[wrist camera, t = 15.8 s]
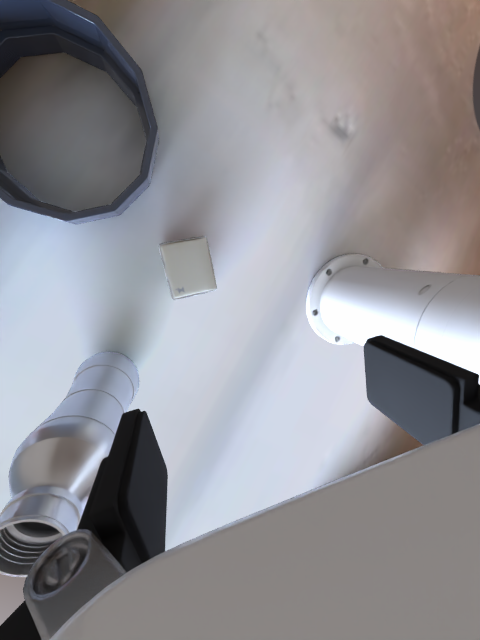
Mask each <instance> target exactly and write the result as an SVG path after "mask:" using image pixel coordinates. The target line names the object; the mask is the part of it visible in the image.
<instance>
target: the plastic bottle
mask: <svg viewBox="0 0 480 640" xmlns="http://www.w3.org/2000/svg"><path fill="white" fill-rule="evenodd" d="M138 388H139V374H138V370H137V367H136V366H135V364H134V363H133V362H132V361H131V360H130V359H129V358H128V357H126V356H125V355H123V354H120V353H117V352H101V353H98V354H95V355H93V356H92V357H90V358H89V359H87V360H86V361H84V362H83V363H82V364H81V365H80V367H79V368H78V370H77V372H76V374H75V377H74V379H73V383H72V386H71V388H70V390H69V392H68V394H67V396H66V398H65V399H64V400H63V401H62V403H61V404H60V405H59V406H58V407H57V409H56V410H55V411H54V412H53V413H52V414H51V415H50V416H49V417H48V418H47V419H46V420H45V421H43V422H42V423H41V424H40V425H39V426H38V427H37V428H36V429H35V430H34V431H33V432H32V433H30V435H29V436H28V437H27V438H26V439H25V440H24V441H23V442H22V444H21V445H20V446H19V447H18V449H17V450H16V453H15V455H14V457H13V460H12V463H11V467H10V471H9V486H10V494H11V498H12V499H10V501H9V502H8V503H7V504H6V506H5V507H4V509H3V510H2V512H1V514H0V573H1V574H4V575H7V576H13V577H27V575H28V573H29V572H30V570H31V568H32V566H33V565H34V563H35V562H36V561H37V559H38V558H39V557H40V555H41V554H42V553H43V552H44V551H45V550H46V549H47V548H48V547H49V546H50V545H51V544H53V543H54V542H55V541H57V540H58V539H59V538H60V537H62V536H64V535H66V534H68V533H70V532H72V531H75V530H77V528H78V525H79V523H80V520H81V517H82V514H83V511H84V508H85V506H86V503H87V500H88V497H89V494H90V492H91V489H92V486H93V483H94V480H95V478H96V475H97V472H98V469H99V466H100V464H101V461H102V460H103V459H104V458H105V457H108V455H109V452H110V449H111V446H112V443H113V440H114V437H115V434H116V431H117V428H118V425H119V422H120V419H121V416H122V414H123V413H126V412H127V410H128V407H129V405H130V404H131V402H132V401H133V399H134V397H135V395H136V393H137V391H138Z"/></svg>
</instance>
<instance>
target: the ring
mask: <svg viewBox="0 0 480 640" xmlns="http://www.w3.org/2000/svg"><path fill="white" fill-rule="evenodd" d="M1 30H2V31H1ZM63 52H64V53H67V54H69V55H71V56H73V57H75V58H78V59H80V60H82V61H84V62H86V63H88V64H91V65H93V66H95V67H97V68H99V69H101V70H104V71H106V72H107V73H108V74H109V75H110V76H111V78H112V79H113V80H114V81H115V82H116V84H117V85H118V86H119V87H120V88H121V89H122V91H123V92H124V93H125V94H126V95H127V96H128V98H129V99H130V100H131V101H132V102H133V103H134V105H135V106H136V107H137V110H138V113H139V117H140V120H141V123H142V127H143V130H144V134H145V137H146V140H147V141H146V146H145V151H144V156H143V161H142V166H141V171H140V175H139V176H138V177H137V178H136V179H135V180H134V181H133V182H132V183H131V184H130V185H129V186H128V187H127V188H126V189H125V190H124V191H123V192H122V193H121V194H120V195H119V197H118V198H117V199H116V200H115V201H114V202H113V203H112V204H111V205H106V206H101V207H96V208H91V209H86V210H82V211H77V212H74V211H70V210H67V209H64V208H60V207H57V206H54V205H50V204H47V203H44V202H41V201H40V200H39V199H38V198H36V197H35V196H34V195H33V194H32V193H31V192H30V191H28V190H27V189H26V188H25V187H24V186H23V185H22V184H20V183H19V182H18V181H17V180H16V179H15V178H14V177H12V176H11V175H10V174H9V173H8V172H7V170H6V168H5V165H4V163H3V161H2V159H1V156H0V198H1V199H2V200H3V201H4V202H6V203H7V204H8V205H10V206H14V207H17V208H21V209H24V210H28V211H31V212H34V213H38V214H41V215H45V216H48V217H52V218H55V219H59V220H62V221H65V222H69V223H73V224H82V223H86V222H91V221H96V220H100V219H105V218H110V217H114V216H119V215H121V214H122V213H123V212H124V211H125V210H126V209H127V208H128V207H129V206H130V205H131V204H132V203H133V202H134V201H135V200H136V199H137V198H138V197H139V196H140V195H141V194H142V193H143V192H144V191H145V190H146V189H147V188H148V187H149V185H150V183H151V178H152V173H153V168H154V164H155V159H156V154H157V149H158V144H159V135H158V127H157V123H156V120H155V116H154V113H153V109H152V105H151V102H150V98H149V95H148V91H147V88H146V84H145V80H144V77H143V73H142V70H141V69H140V67H139V66H138V65H137V64H136V62H135V61H134V60H133V59H132V57H131V56H130V55H129V54H128V53H127V51H126V50H125V49H124V48H123V46H122V45H121V44H120V43H119V41H118V40H117V39H116V38H115V36H114V35H113V34H112V33H111V31H110V30H109V29H108V28H107V26H106V25H105V24H104V23H103V22H102V20H101V19H100V18H99V17H98V16H97V15H95V14H93V13H91V12H89V11H87V10H85V9H83V8H81V7H79V6H77V5H76V4H74V3H72V2H70V1H68V0H0V78H1V77H2V76H3V75H4V74H5V73H6V72H7V71H8V70H9V69H10V68H11V67H12V66H13V65H14V64H15V63H16V62H17V61H18V60H19V58H20V57H25V56H35V55H44V54H53V53H63Z"/></svg>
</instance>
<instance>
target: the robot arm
mask: <svg viewBox="0 0 480 640" xmlns="http://www.w3.org/2000/svg"><path fill="white" fill-rule="evenodd" d="M326 271H327V272H326ZM306 310H307V316H308V320H309V323H310V324H311V326H312V328H313V330H314V331H315V332H316V333H317V334H318V335H319V336H321V337H322V338H323V339H325V340H327V341H329V342H331V343H334V344H342V345H345V344H352V343H355V342H356V343H358V344H360V345H362V346H364V359H365V373H366V388H367V398H368V400H369V402H370V403H371V404H372V405H373V406H374V407H375V408H377V409H378V410H379V411H381V412H382V413H383V414H384V415H386V416H387V417H388V418H390V419H391V420H392V421H393V422H395V423H396V424H397V425H399V426H400V427H401V428H402V429H404V430H405V431H406V432H407V433H409V434H410V435H411V436H413V437H414V438H415V439H416V440H418V441H419V442H420V443H422V444H423V445H424V446H421V447H418V448H416V449H413V450H411V451H408V452H406V453H403V454H400V455H398V456H395V457H393V458H390V459H388V460H385V461H383V462H380V463H378V464H375V465H373V466H370V467H368V468H365V469H363V470H360V471H358V472H355V473H353V474H350V475H348V476H345V477H343V478H340V479H338V480H335V481H333V482H330V483H328V484H325V485H323V486H320V487H318V488H315V489H313V490H310V491H308V492H305V493H303V494H300V495H298V496H295V497H293V498H290V499H288V500H286V501H283V502H281V503H278V504H276V505H273V506H271V507H268V508H266V509H263V510H261V511H258V512H256V513H254V514H251V515H249V516H246V517H244V518H241V519H239V520H236V521H234V522H232V523H229V524H227V525H224V526H222V527H220V528H217V529H215V530H212V531H210V532H208V533H205V534H203V535H201V536H198V537H196V538H194V539H192V540H189V541H187V542H185V543H183V544H180V545H178V546H176V547H174V548H172V549H170V550H167V551H165V532H166V506H167V479H168V475H167V468H166V465H165V462H164V459H163V457H162V454H161V451H160V448H159V446H158V443H157V440H156V437H155V435H154V432H153V429H152V426H151V424H150V421H149V418H148V415H147V413H146V411H143V412H141V411H140V409H136V410H133V411H129V412H126V413H123V414H122V416H121V419H120V422H119V425H118V428H117V431H116V434H115V437H114V440H113V443H112V446H111V449H110V452H109V455H108V457H105V458H104V459H103V460H102V461H101V464H100V466H99V469H98V472H97V475H96V478H95V480H94V483H93V486H92V489H91V492H90V494H89V497H88V500H87V503H86V506H85V508H84V511H83V514H82V517H81V520H80V523H79V525H78V528H77V530H75V531H72V532H70V533H68V534H66V535H64V536H62V537H60V538H59V539H58V540H57V541H55V542H54V543H53V544H51V545H50V546H49V547H48V548H47V549H46V550H45V551H44V552H43V553H42V554H41V555H40V557H39V558H38V559H37V561H36V562H35V563H34V565H33V566H32V568H31V570H30V572H29V573H28V575H27V577H26V580H25V584H24V588H23V593H24V599H25V601H24V602H23V603H22V604H21V605H20V606H19V607H18V608H17V609H16V610H15V612H13V613H12V614H11V615H10V617H9V618H7V620H6V621H5V622H4V623H3V624H2V625H1V626H0V640H480V275H466V274H454V273H441V272H428V271H415V270H402V269H389V268H382V266H381V265H380V264H379V263H378V262H377V261H376V260H374V259H373V258H371V257H369V256H366V255H363V254H345V255H341V256H338V257H336V258H334V259H332V260H330V261H329V262H328V263H326V264H325V265H324V266H323V267H322V268H321V269H320V270H319V271H318V272H317V274H316V275H315V277H314V279H313V280H312V282H311V285H310V287H309V290H308V294H307V299H306Z"/></svg>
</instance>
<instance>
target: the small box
mask: <svg viewBox="0 0 480 640" xmlns="http://www.w3.org/2000/svg"><path fill="white" fill-rule="evenodd" d="M159 250H160V255H161V259H162V263H163V267H164V271H165V275H166V278H167V282H168V286H169V289H170V293H171V297H172V299H173V300H176V299H181V298H186V297H191V296H195V295H199V294H203V293H207V292H210V291H215V290H216V289H217V286H216V280H215V275H214V269H213V264H212V260H211V255H210V250H209V246H208V242H207V238H206V237H197V238H190V239H183V240H177V241H171V242H166V243H161V244H159Z"/></svg>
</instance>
